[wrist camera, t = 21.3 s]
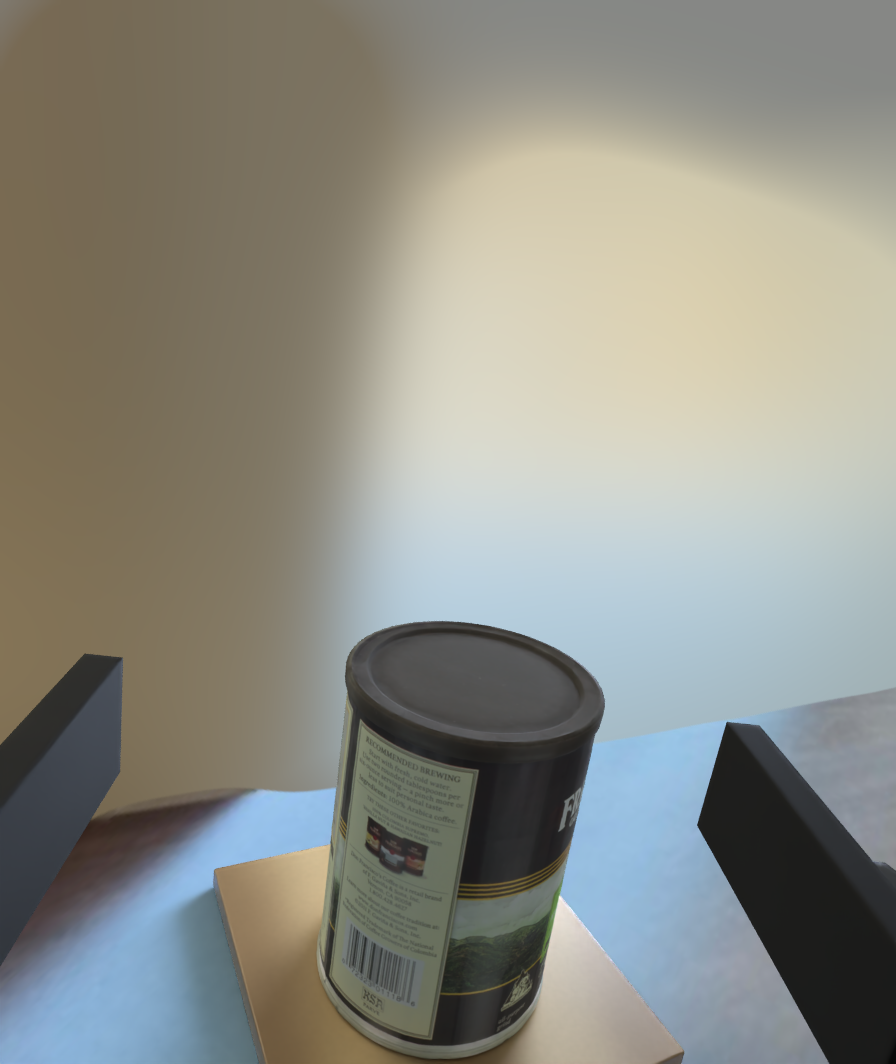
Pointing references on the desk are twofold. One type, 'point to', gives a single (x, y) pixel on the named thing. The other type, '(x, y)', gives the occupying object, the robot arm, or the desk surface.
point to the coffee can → (451, 832)
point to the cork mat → (355, 1060)
